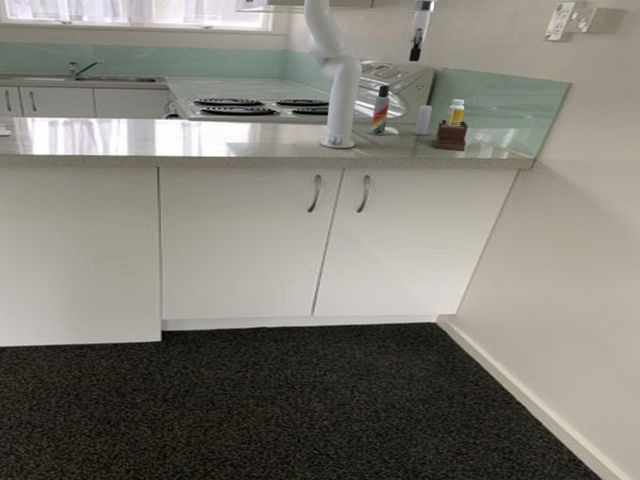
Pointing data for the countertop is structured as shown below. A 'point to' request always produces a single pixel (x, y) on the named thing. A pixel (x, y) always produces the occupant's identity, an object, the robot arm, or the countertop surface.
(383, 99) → the lotion bottle
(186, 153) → the countertop surface
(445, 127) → the spice rack
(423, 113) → the pale translucent container
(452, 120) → the supplement bottle
